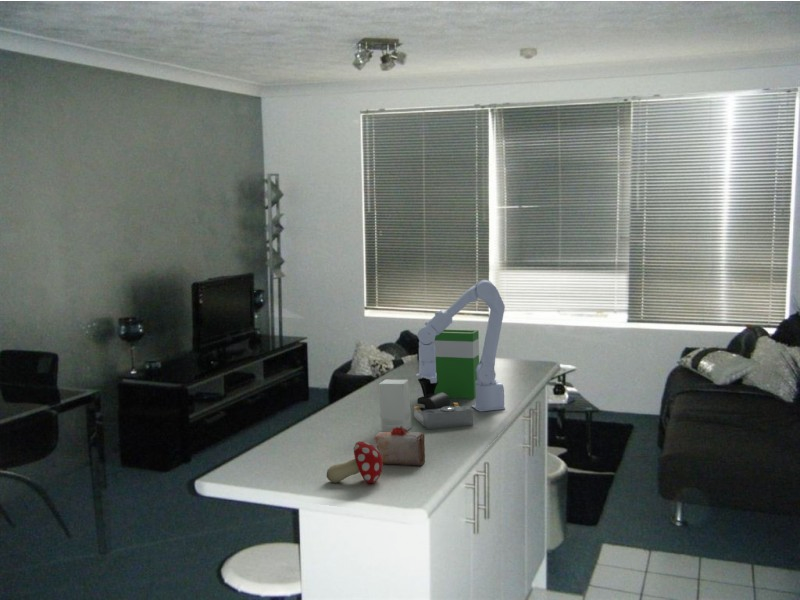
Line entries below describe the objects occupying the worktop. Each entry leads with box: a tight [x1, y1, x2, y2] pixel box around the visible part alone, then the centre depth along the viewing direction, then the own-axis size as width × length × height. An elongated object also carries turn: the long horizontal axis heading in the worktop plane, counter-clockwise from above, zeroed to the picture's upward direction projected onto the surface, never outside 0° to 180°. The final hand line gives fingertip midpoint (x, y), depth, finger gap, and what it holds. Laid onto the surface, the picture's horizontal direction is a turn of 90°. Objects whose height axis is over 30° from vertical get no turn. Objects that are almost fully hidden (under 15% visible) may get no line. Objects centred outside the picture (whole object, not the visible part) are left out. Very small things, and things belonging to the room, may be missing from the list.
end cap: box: [417, 392, 451, 412], centre depth 269 cm, size 10×7×7 cm
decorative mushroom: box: [326, 441, 384, 484], centre depth 204 cm, size 11×11×15 cm
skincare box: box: [378, 378, 412, 432], centre depth 252 cm, size 8×7×16 cm
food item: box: [374, 425, 426, 467], centre depth 219 cm, size 14×8×10 cm, turn 76°
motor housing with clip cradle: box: [413, 402, 474, 430], centre depth 261 cm, size 15×16×6 cm
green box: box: [434, 329, 480, 400], centre depth 296 cm, size 18×7×24 cm, turn 69°
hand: (428, 399), depth 277 cm, fingers closed
